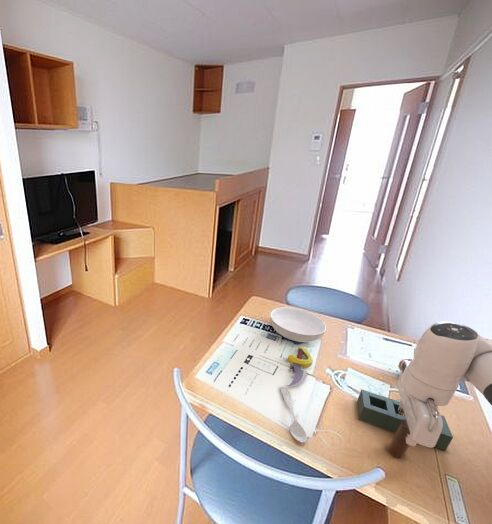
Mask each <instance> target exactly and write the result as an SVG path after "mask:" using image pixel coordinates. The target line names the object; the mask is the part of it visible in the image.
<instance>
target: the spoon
mask: <svg viewBox="0 0 492 524" xmlns="http://www.w3.org/2000/svg"><path fill="white" fill-rule="evenodd" d="M280 392H281V395H282V397H283V400H284V402H285V404H286V406H287V407H288V409H289V411H290V414H291V416H292V419H293V421H292V423H291V424H290V425H289V432H290V434H291V436H292V437H293V439H294V440H296V441H297V442H299V443H301V444H304V443H307V439H308V438H307V433H306V431H305V428H304V427H303V426H302V425H301V424H300V423H299V422H298V421H299V420H298V419H297V417H296V415H295V412H294V409H293V405H292V404H293V403H292V401H291V397H290V394H289V391H288V390H287V389H286V388H285V387H282V388H281V389H280Z"/></svg>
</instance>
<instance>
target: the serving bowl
mask: <svg viewBox="0 0 492 524" xmlns="http://www.w3.org/2000/svg"><path fill="white" fill-rule="evenodd" d="M269 321H270V324H271V327H272V328H273V330H274V331H276V333H278V334H279V336H282V337H284V338H285V339H288V340H290V341H293V342H297V343H312V342H315V341H317V340H319V339H320V338H322V337H323V336H324V334H325V332H326V331H327V325H326V323H325V322H324V321H323V319H321V318H320V317H319V316H317V315H316V314H314V313H312V312H310V311H307V310H305V309H301V308H297V307H292V306H291V307H290V306H281V307H276V308H274V309H273V310H271V311H270V313H269Z"/></svg>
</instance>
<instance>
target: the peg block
mask: <svg viewBox="0 0 492 524" xmlns="http://www.w3.org/2000/svg"><path fill="white" fill-rule="evenodd" d="M356 404H357V416H358V420H359V421H363V422H365V423H368V424H370V425H374V426H376V427H379V428H382V429H385V430H387V431H389V432H393V433H395V432H396V430H397V428H398V426H399V423H400V421H401V420H406V417H404V416H401V415H399V412H398V408H399V406H400V400H396V399H393V398H391V397H387V396H383V395H380V394H378V393H375V392H371V391H368V390H365V389H361V390H360V392H359V395H358V397H357V400H356ZM441 417H442V420H443V428H442V431H441V434H440V436H439V438H438V441H437V443H436V445H435V446H434V447H433V448H437V449H440V450H443V451H447V449H448V447H449V445H450V444H451V442H452V440H453V439H454V436H453V434H452V431H451V428H450V427H449V423H448V421H447V419H446V418H445V415H442V414H441Z"/></svg>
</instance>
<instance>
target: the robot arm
mask: <svg viewBox="0 0 492 524" xmlns="http://www.w3.org/2000/svg"><path fill="white" fill-rule="evenodd" d="M402 360H403V362H402V364H401V368H402V370H401V371H400V373H399V376H398V377H397V384H396V385H397V390H398V394H399V397H400V398H399V402H400V406H399V408H398V412H399V415H401V416H404V417H406V420H407V424H408V427H409V431H410V434H406V437H405V440H406V443H407V444H409V446H411V447H416V446H417V444H418V445H421V446H422V447H426V448H429V449H432V448H435V447H434V446H435V445H436V443H437V441H438V438H439V436H440V434H441V431H442V428H443V420H442V417H441V415H442V414H441V412H440V410H439V407H446V406H448V405H449V404H450V402H451V400H452V398H453V397H454V395H455V393H456V391H457V389H458V388H459V385H460V383H462V382H467V383H470V384H471V385H472V386H473V387H474V388H475V389H477V390H478V392H480V393H481V395H482V396H483V397H484V399H485V400H486V401H487V403H489V404H490V406H492V339H489V338H485V337H483V336H481V335H480V334H479V333H478V332H477V331H475V329H473V328H471V327H470V326H467V325H465V324H461V323H457V322H452V321H451V322H450V321H438V322H435V323H433V324H431V325H430V326H429V327H428V328H426V329H425V331H423V333H422V335H421V336H420V338H419V340H418V342H417V344H416V346H415V347H414V350H413V358H412V361H406V360H405V359H402Z"/></svg>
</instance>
